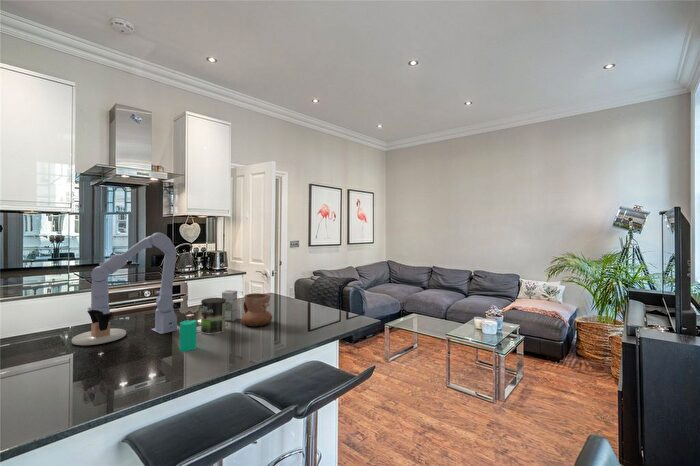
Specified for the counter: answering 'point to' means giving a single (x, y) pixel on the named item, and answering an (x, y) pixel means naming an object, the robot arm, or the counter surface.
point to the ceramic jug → (256, 309)
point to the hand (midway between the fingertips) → (99, 328)
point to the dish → (90, 340)
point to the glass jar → (213, 315)
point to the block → (96, 331)
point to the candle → (188, 335)
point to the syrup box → (230, 305)
